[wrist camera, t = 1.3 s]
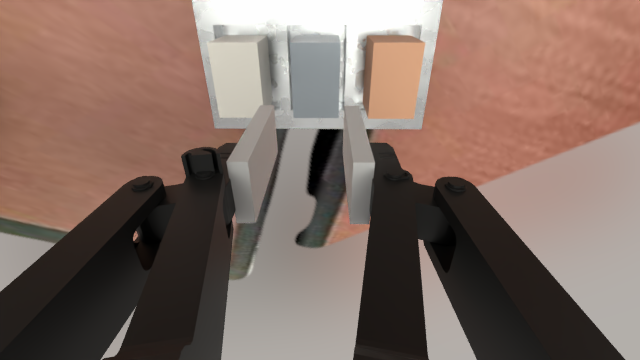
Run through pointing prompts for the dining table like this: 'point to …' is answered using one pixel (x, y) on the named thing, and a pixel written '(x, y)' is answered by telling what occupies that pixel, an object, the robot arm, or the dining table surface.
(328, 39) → the slate key
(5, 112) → the dining table surface
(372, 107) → the orange block
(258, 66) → the cream block
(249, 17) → the grey tray
